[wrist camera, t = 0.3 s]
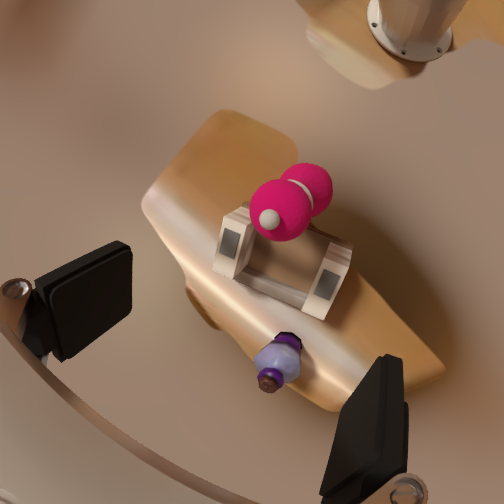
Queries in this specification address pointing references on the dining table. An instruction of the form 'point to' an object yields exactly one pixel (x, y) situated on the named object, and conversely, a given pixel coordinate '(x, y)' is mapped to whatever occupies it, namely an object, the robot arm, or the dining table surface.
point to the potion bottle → (279, 362)
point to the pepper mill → (290, 202)
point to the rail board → (283, 263)
